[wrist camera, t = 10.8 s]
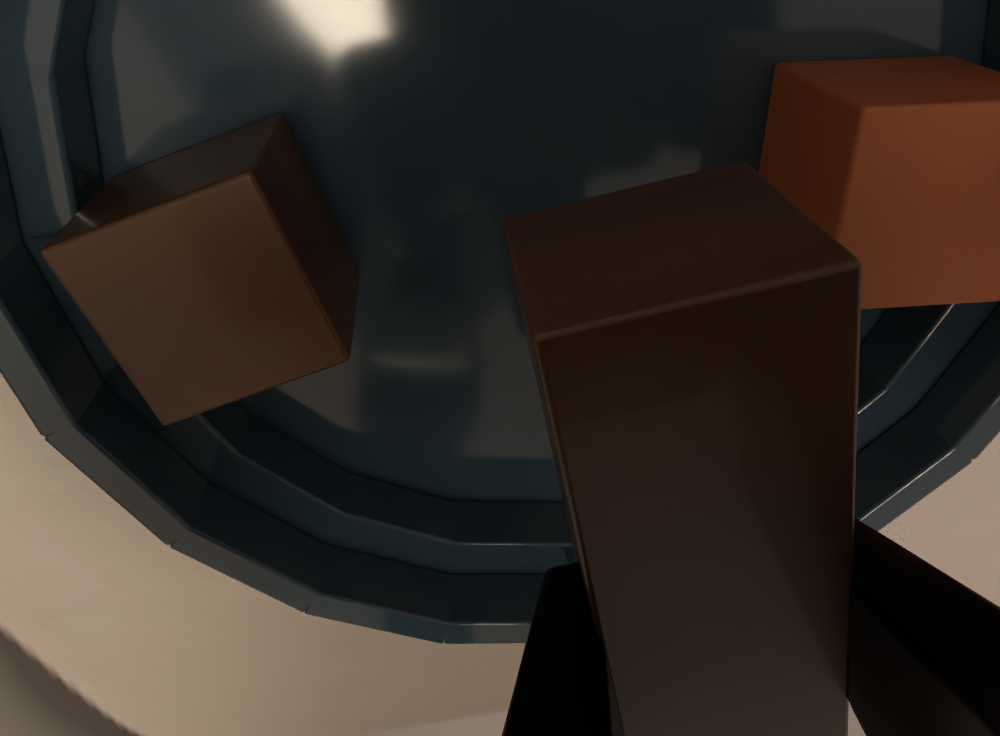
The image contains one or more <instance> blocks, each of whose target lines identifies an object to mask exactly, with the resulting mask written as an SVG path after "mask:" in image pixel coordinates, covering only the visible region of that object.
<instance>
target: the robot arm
mask: <svg viewBox="0 0 1000 736" xmlns="http://www.w3.org/2000/svg"><path fill="white" fill-rule="evenodd" d="M847 698H848V700H849V702H850V704H851V707H852V709H853V711H854V713H855V715H856V717H857V719H858V721H859V723H860V725H861V727H862V729H863V730H864V732H865V734H866V736H1000V607H999V606H997V605H995V604H994V603H992V602H990V601H989V600H987V599H986V598H984V597H982V596H981V595H979V594H978V593H976V592H974V591H973V590H971V589H969V588H968V587H966V586H965V585H963V584H961V583H960V582H958V581H957V580H955V579H953V578H952V577H950V576H948V575H947V574H945V573H944V572H942V571H940V570H939V569H937V568H936V567H934V566H932V565H931V564H929V563H927V562H926V561H924V560H923V559H921V558H919V557H918V556H916V555H915V554H913V553H911V552H910V551H908V550H906V549H905V548H903V547H902V546H900V545H898V544H897V543H895V542H894V541H892V540H890V539H889V538H887V537H885V536H884V535H882V534H881V533H879V532H877V531H876V530H874V529H873V528H871V527H869V526H868V525H866V524H864V523H863V522H861V521H860V520H858V519H856V518H855V517H854V545H853V577H852V584H851V588H850V620H849V654H848V688H847ZM502 736H624V735H623V730H622V725H621V721H620V716H619V712H618V707H617V702H616V698H615V693H614V689H613V684H612V679H611V675H610V670H609V666H608V661H607V656H606V652H605V647H604V643H603V641H602V640H601V639H600V638H599V637H598V636H597V633H596V629H595V625H594V621H593V617H592V613H591V609H590V605H589V601H588V597H587V593H586V589H585V585H584V581H583V578H582V574H581V570H580V566H579V562H572V563H568V564H563V565H559V566H555V567H551V568H549V569H547V570H546V572H545V574H544V577H543V581H542V585H541V589H540V592H539V596H538V600H537V604H536V608H535V611H534V615H533V619H532V623H531V626H530V630H529V634H528V638H527V642H526V645H525V649H524V653H523V657H522V661H521V664H520V668H519V672H518V676H517V680H516V683H515V687H514V691H513V695H512V699H511V702H510V706H509V710H508V714H507V718H506V722H505V725H504V729H503V733H502Z"/></svg>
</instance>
